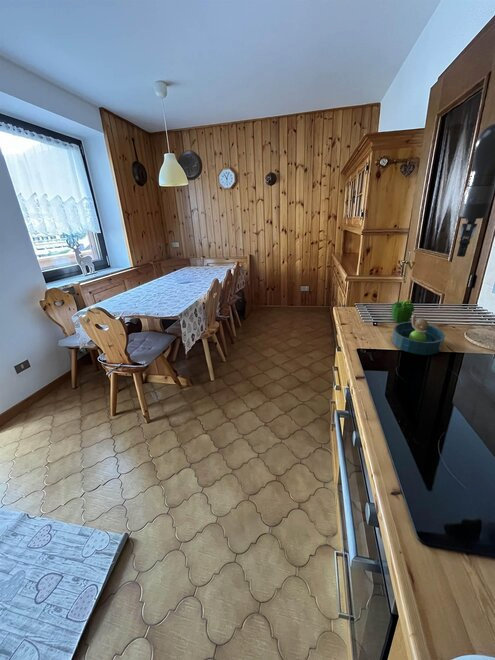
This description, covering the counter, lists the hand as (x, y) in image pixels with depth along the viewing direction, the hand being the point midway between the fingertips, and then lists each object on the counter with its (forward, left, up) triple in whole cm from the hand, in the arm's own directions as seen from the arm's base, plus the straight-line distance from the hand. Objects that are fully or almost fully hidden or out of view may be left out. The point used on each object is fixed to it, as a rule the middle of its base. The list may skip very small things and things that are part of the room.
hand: (461, 253), depth 96 cm
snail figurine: (+6, +12, -31) cm, 34 cm away
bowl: (+6, +12, -32) cm, 34 cm away
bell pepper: (+15, -6, -32) cm, 36 cm away
